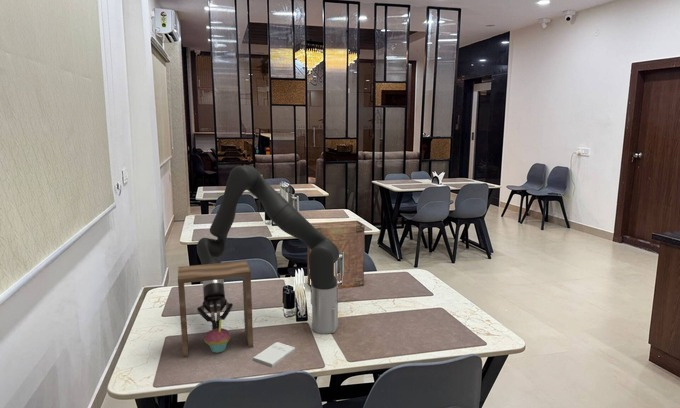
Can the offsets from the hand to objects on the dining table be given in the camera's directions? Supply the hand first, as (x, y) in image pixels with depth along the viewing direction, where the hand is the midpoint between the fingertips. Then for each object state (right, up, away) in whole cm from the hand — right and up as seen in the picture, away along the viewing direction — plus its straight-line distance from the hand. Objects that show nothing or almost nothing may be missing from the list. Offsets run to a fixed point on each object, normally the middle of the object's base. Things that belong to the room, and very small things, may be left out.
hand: (216, 331), depth 155 cm
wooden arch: (0, -4, 0) cm, 4 cm away
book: (+41, +6, +56) cm, 70 cm away
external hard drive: (+21, -7, -7) cm, 23 cm away
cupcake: (+1, -5, -4) cm, 7 cm away
